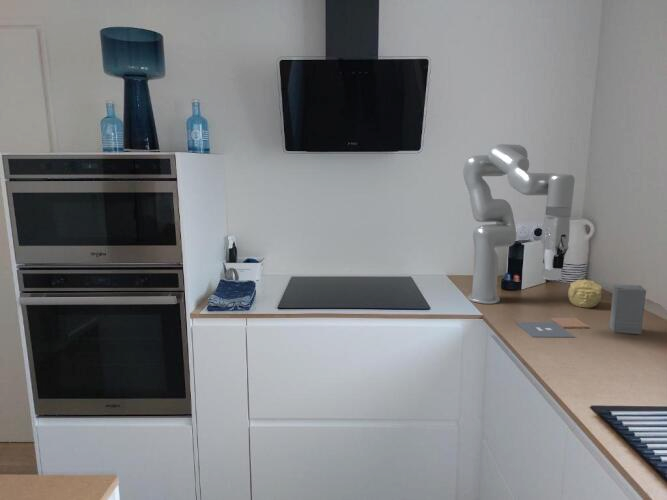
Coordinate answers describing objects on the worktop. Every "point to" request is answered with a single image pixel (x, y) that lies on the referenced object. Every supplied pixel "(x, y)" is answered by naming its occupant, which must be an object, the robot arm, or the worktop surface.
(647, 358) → the worktop surface
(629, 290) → the skincare box
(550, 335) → the blue-grey tile
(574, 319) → the coaster
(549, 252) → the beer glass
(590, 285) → the sculpture
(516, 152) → the robot arm
